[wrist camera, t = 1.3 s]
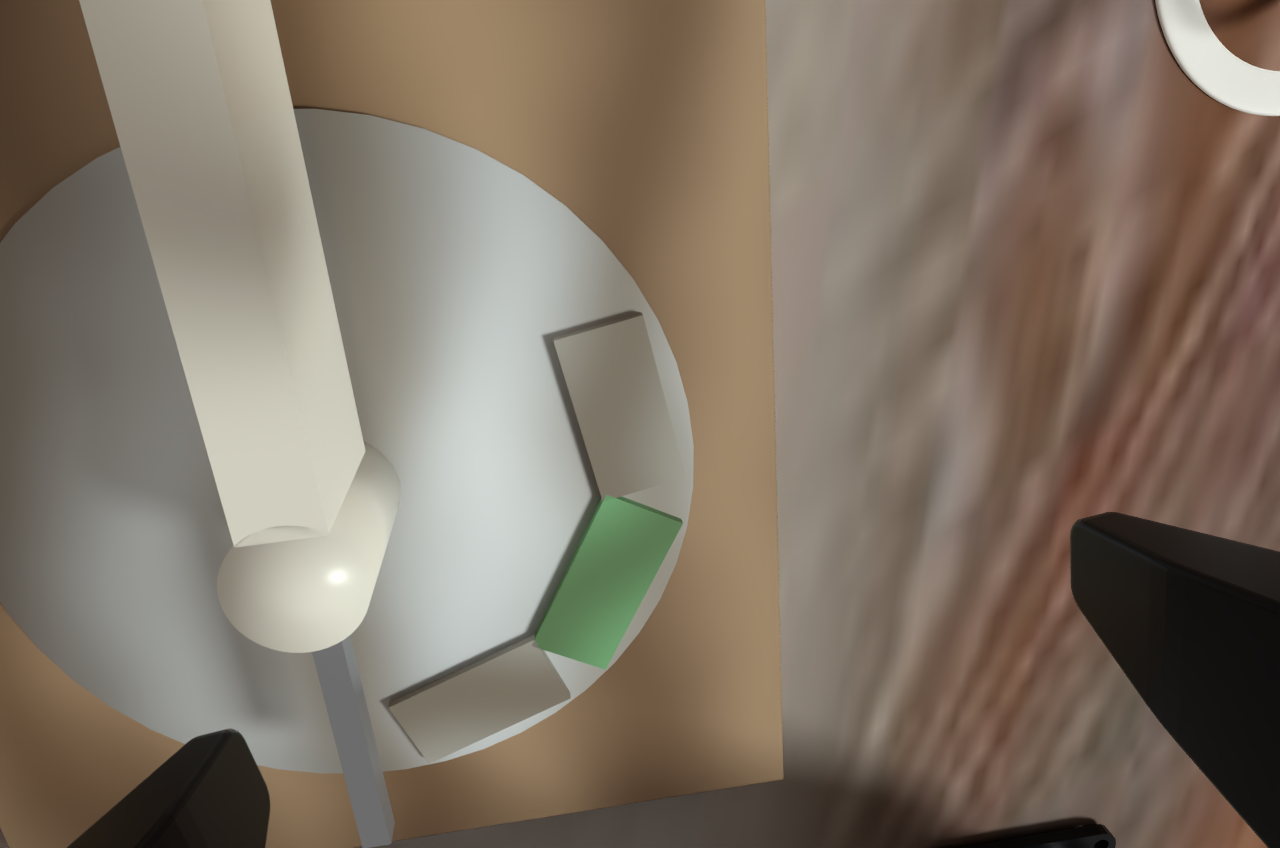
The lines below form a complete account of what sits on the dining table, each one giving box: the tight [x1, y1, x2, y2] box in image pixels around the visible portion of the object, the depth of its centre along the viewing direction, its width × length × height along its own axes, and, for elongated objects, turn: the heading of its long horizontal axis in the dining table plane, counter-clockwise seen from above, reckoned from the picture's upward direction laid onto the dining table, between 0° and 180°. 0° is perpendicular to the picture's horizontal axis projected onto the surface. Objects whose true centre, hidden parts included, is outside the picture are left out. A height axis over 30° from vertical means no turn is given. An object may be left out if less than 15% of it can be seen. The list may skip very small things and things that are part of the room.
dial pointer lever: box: [79, 0, 401, 848], centre depth 17 cm, size 18×3×4 cm, turn 4°
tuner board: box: [0, 0, 783, 848], centre depth 20 cm, size 20×21×2 cm
